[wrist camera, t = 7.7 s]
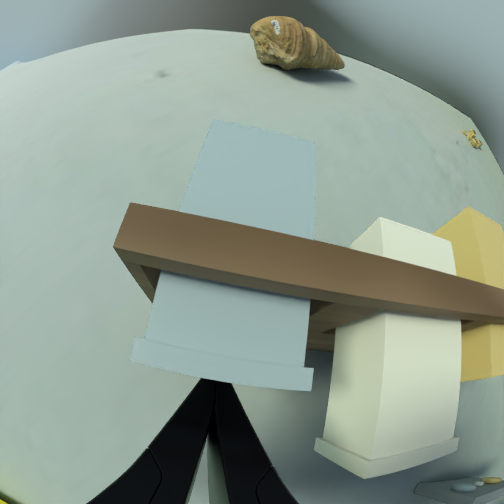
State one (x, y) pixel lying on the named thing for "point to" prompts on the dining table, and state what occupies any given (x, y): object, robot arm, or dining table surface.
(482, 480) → the card
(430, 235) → the middle button
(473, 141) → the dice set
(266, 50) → the seashell
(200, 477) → the dining table surface
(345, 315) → the button board
